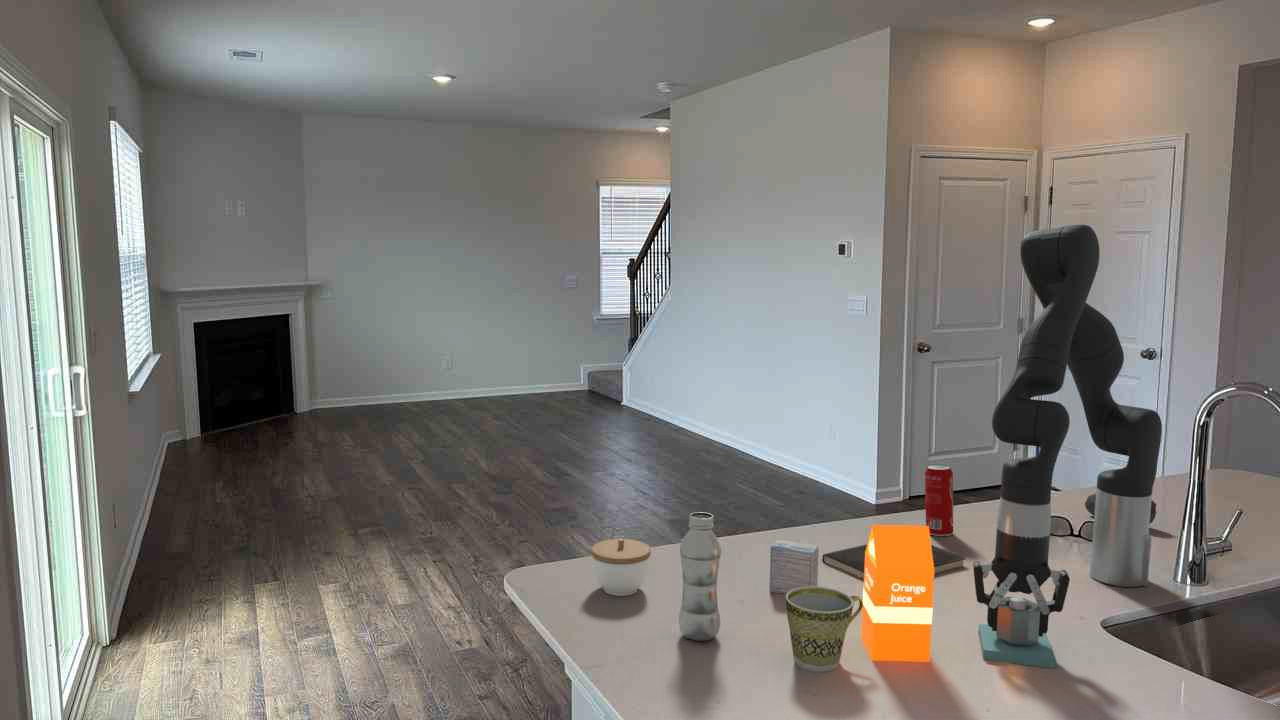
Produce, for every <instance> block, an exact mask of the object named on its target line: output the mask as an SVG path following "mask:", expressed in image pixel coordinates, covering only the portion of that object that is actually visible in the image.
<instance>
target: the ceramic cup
mask: <svg viewBox="0 0 1280 720" xmlns="http://www.w3.org/2000/svg"><path fill="white" fill-rule="evenodd" d="M857 601H858V603H859V606H858V609H857V610H856V611H854V613H853V608H854V603H855V602H857ZM785 609H786V615H787V616H786V617H787V620H788V626H789V635H790V642H791V648H792V655H793V662H794V663H795V664H796V665H797V666H799V667H800V668H801V669H803V670H806V671H811V672H816V673H825V672H829V671H830V672H831V671H835V670H837V669H838V666H839V663H840V660H841V655H842V650H843V646H844V641H845V638H846V633H847V630H848V628H849V626H850V624H851V623H852V621H853V620H855V618H856V617H858V616H859V615H860V614H861V612H862V610H863V598H861V597H859V596H857V595H851V596H850V595H849V594H847V593H845V592H843V591H840V590H837V589H835V588H831V587H826V586H818V587H816V586H809V587H800V588H795V589H793V590H791V591H789V592H788V593H787V594H785Z"/></svg>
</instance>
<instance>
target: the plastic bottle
mask: <svg viewBox="0 0 1280 720" xmlns="http://www.w3.org/2000/svg"><path fill="white" fill-rule="evenodd" d="M688 527H689V531H688V532H687V533H685V535H684V537H683V538H682V540H681V542H680V545H679V554H680V555H679V556H680V561H681V571H682V580H683V581H682V595H681V596H682V597H681V605H680V606H681V607H680V609H679V614H678V625H679V630H680V633H681V634H682V635H683V637H685V638H686V639H689V640H692V641H698V642H699V641H700V642H704V641H710V640H713V639H714V638H716V636H717V635H718V634H719V632H720V627H721V617H720V612H719V605H718V592H717V590H718V575H719V567H720V561H721V555H722V546H721V543H720V541H719V540H718V539H719V538H717V536H716V534H715V532H713V531H712V529H714V527H715V526H714V515H713V514H711V513H708V512H704V511H703V512H701V511H698V512H692V513H690V514H689V522H688Z"/></svg>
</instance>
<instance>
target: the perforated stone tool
mask: <svg viewBox="0 0 1280 720" xmlns="http://www.w3.org/2000/svg"><path fill="white" fill-rule="evenodd" d="M1095 502H1096V493H1093V494H1090V495H1088V496H1087V498H1086V500H1085V503H1084V505H1085V506H1084V507H1085V509H1086V511H1087V512H1088V513H1090V515H1093V516H1094V515H1095ZM1156 509H1157V503H1155V501H1154V500H1152V499H1151V511H1150V522H1149V525H1151V524H1152V523H1153V522H1154V520H1155V519H1156V514H1157V511H1156Z"/></svg>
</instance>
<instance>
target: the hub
mask: <svg viewBox="0 0 1280 720" xmlns="http://www.w3.org/2000/svg"><path fill="white" fill-rule="evenodd" d="M1010 598H1015V597H1014V596H1013V597H1012V596H1006V597H1005V596H1004V598H1002V599H1001V601H1000V602H999V604H998V606H997V608H998V617H997V631H995V632H996V636H997V637H999V638H1001V639H1003V640H1005V641H1007V642H1010V643H1017V644H1025V645H1028V644H1032V643H1035V642H1038V637H1039V623H1040V608H1039V606H1038V603H1037V602H1033V601H1032V600H1028V599H1027V598H1023V597H1022V598H1021V597H1020V598H1021V599H1024V600H1026V602H1027V603H1026V610H1018V609H1013V608H1011V607H1009V604H1010Z"/></svg>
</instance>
